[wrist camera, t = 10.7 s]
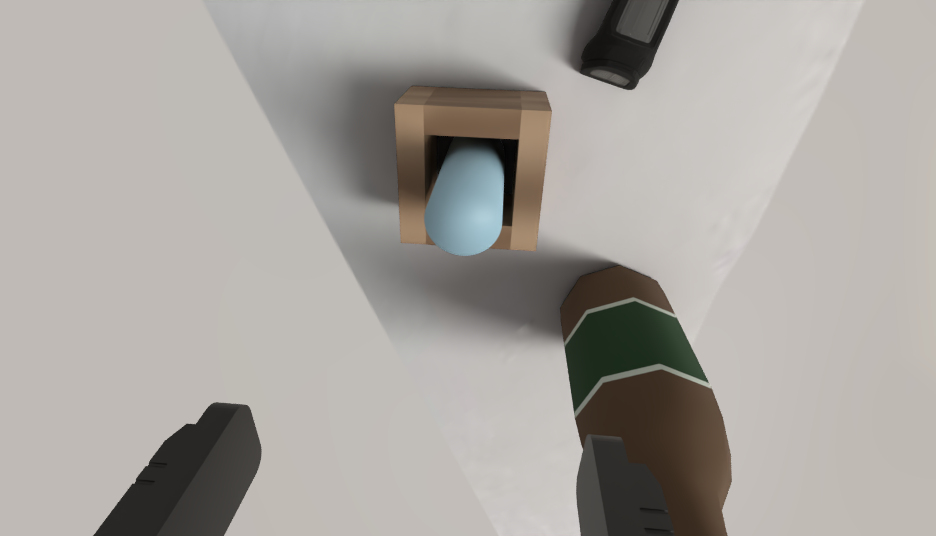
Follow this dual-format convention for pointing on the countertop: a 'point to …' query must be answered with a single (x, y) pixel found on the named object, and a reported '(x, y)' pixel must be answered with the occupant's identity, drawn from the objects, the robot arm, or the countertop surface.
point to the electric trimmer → (627, 41)
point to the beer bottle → (647, 392)
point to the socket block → (472, 116)
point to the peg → (468, 197)
